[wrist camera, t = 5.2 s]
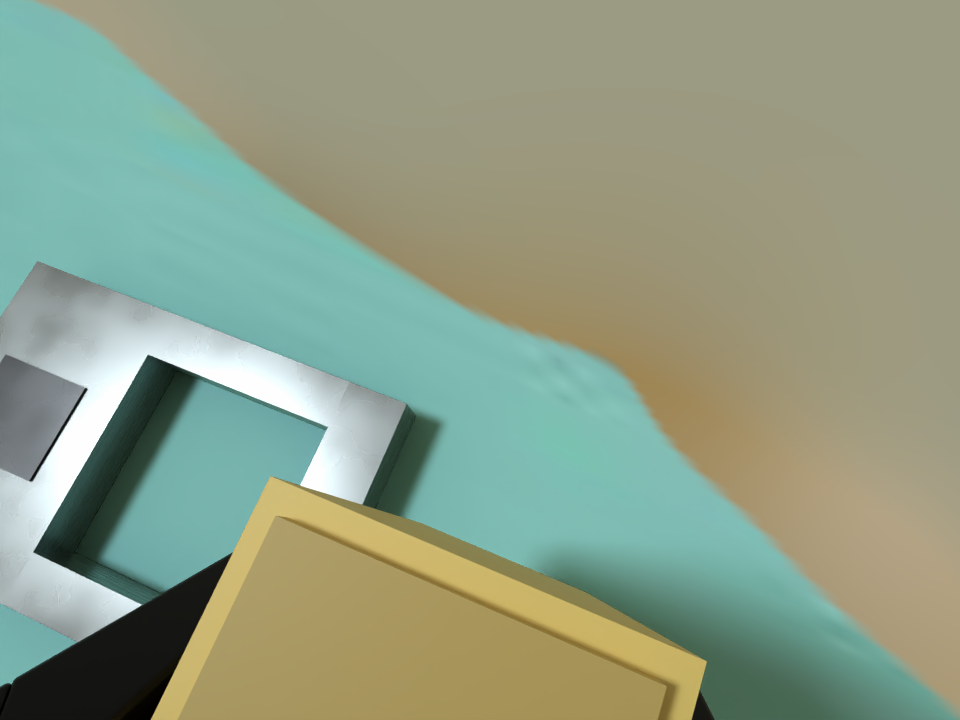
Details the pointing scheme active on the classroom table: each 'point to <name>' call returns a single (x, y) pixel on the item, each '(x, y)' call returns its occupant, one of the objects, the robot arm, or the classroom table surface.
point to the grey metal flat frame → (136, 431)
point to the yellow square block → (409, 630)
